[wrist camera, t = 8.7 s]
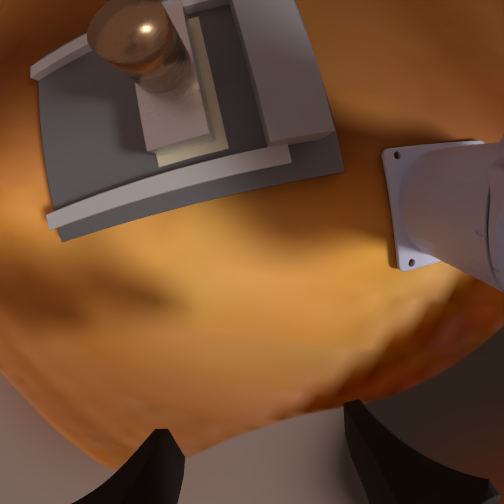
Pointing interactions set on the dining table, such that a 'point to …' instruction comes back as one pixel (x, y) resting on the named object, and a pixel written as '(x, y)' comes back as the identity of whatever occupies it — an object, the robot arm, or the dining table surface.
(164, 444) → the robot arm
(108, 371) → the dining table surface
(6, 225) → the dining table surface
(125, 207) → the base
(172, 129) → the press handle
